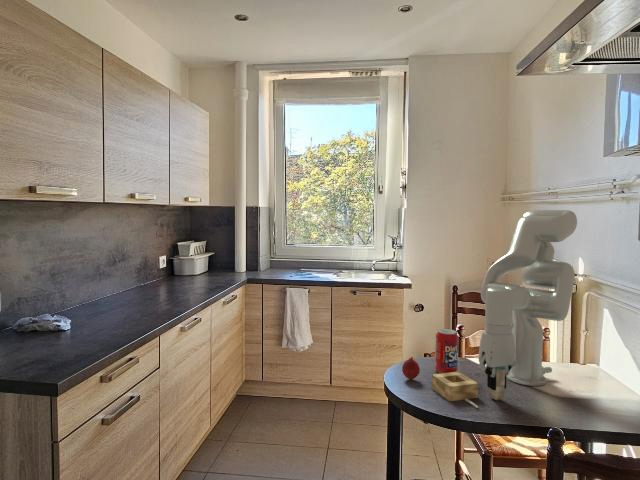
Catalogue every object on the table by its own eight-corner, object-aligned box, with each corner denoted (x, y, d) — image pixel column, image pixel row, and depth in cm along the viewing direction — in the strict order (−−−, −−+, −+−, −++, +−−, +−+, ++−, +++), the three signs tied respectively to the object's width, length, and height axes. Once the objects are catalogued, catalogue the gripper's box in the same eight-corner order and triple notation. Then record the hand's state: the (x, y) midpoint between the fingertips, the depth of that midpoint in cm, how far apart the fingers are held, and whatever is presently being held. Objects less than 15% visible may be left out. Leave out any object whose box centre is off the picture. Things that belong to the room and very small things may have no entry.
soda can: (435, 367, 154) (437, 327, 153) (458, 370, 151) (459, 329, 150) (433, 374, 147) (434, 332, 146) (456, 377, 144) (458, 335, 143)
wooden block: (457, 384, 138) (458, 371, 137) (477, 397, 128) (478, 383, 128) (431, 388, 135) (431, 374, 134) (449, 401, 125) (450, 386, 125)
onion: (419, 384, 138) (420, 360, 137) (401, 382, 139) (402, 359, 139) (419, 377, 144) (419, 354, 143) (402, 376, 145) (402, 353, 144)
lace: (464, 400, 125) (464, 398, 125) (467, 400, 126) (467, 398, 126) (476, 408, 120) (476, 406, 120) (478, 408, 121) (479, 405, 121)
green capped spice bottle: (497, 394, 129) (498, 359, 128) (504, 398, 126) (505, 363, 125) (489, 395, 128) (490, 361, 127) (495, 400, 125) (496, 364, 124)
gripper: (511, 323, 131) (509, 379, 133) (467, 327, 126) (466, 386, 128) (529, 329, 124) (527, 389, 126) (484, 334, 119) (482, 396, 121)
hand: (496, 387), depth 127 cm, fingers closed on green capped spice bottle, 3 cm apart
